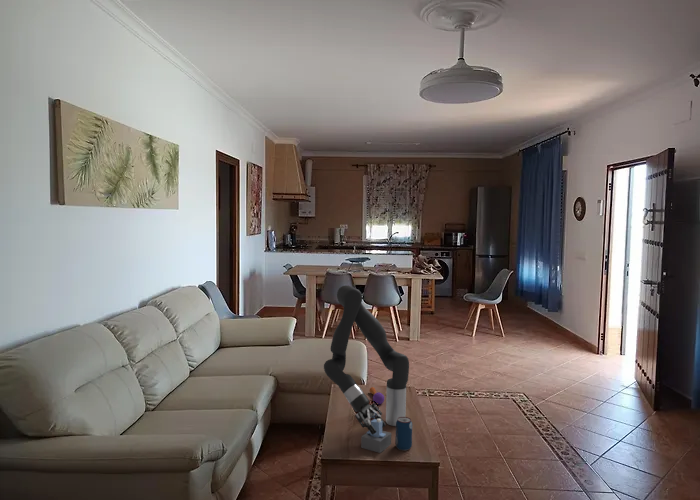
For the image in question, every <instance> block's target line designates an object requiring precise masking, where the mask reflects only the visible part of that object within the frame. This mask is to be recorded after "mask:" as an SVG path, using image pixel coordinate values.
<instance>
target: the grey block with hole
mask: <svg viewBox="0 0 700 500" xmlns="http://www.w3.org/2000/svg"><path fill="white" fill-rule="evenodd" d="M382 433H385V434H386V436H384V437H383V438H382V437H381V438H377V437H374V436H370V434H367V432H365V433H364V434H362V435H361V438H360V441H361V443H360V444H361V445H360V446H361V447H360V448H362V449H365V450H367V451H371V452H375V453H379V454H382V452H384V451H385V450H386V449H387V448H389V446H391V445H392V432H390V431H389V432H388V431H385V430H382Z"/></svg>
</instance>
